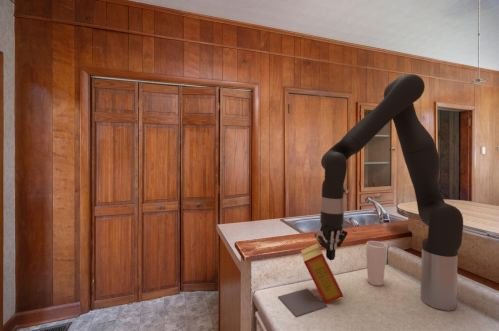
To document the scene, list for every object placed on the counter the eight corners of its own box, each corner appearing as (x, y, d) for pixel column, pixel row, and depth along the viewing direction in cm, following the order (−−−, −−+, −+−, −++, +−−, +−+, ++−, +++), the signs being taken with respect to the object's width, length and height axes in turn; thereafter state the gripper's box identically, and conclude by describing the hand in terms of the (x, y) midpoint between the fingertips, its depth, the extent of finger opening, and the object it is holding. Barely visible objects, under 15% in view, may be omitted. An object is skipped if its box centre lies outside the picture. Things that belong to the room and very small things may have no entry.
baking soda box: (343, 296, 80) (321, 252, 80) (325, 304, 81) (303, 260, 80) (336, 280, 89) (316, 241, 89) (319, 287, 90) (300, 249, 90)
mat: (306, 289, 89) (306, 288, 89) (327, 306, 79) (327, 305, 79) (278, 297, 85) (277, 296, 85) (296, 317, 74) (296, 315, 74)
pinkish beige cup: (389, 287, 90) (390, 247, 89) (370, 287, 90) (371, 247, 89) (379, 277, 97) (380, 240, 96) (362, 277, 97) (363, 240, 96)
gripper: (323, 214, 78) (322, 267, 79) (355, 210, 83) (353, 260, 84) (309, 209, 85) (308, 257, 86) (339, 205, 90) (337, 251, 91)
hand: (330, 259), depth 85 cm, fingers closed
